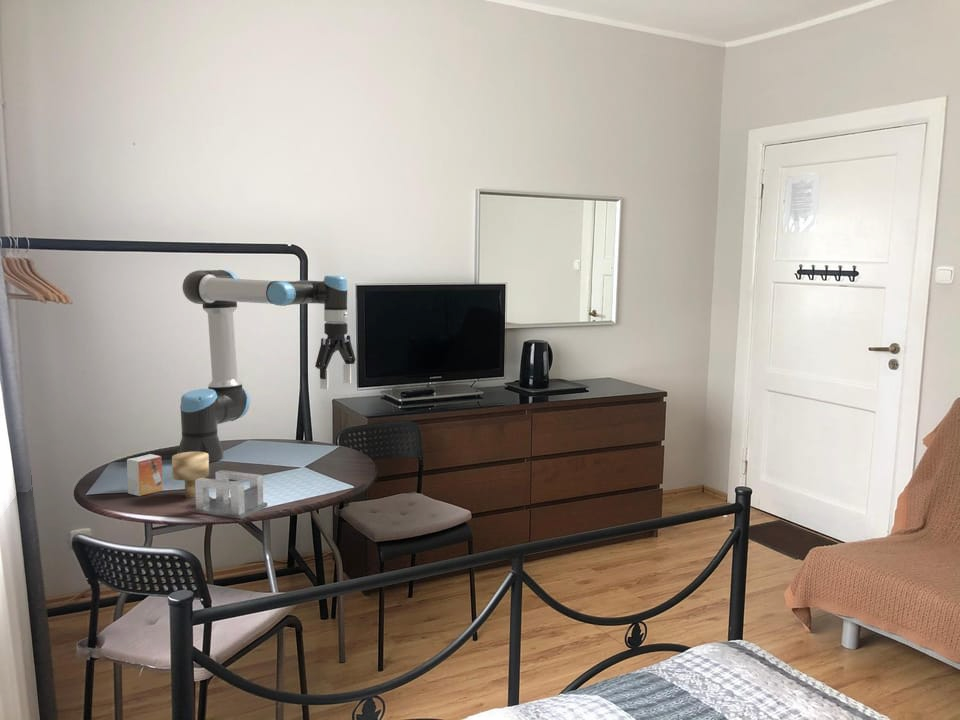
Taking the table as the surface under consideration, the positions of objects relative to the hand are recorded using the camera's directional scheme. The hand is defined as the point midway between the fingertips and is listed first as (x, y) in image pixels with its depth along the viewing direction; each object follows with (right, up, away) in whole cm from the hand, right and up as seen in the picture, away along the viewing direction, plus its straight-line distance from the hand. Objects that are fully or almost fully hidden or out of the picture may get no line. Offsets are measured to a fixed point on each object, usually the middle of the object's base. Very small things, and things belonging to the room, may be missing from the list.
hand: (336, 385), depth 262 cm
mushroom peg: (-36, -31, -33) cm, 58 cm away
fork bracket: (-21, -33, -44) cm, 59 cm away
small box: (-51, -31, -30) cm, 67 cm away
